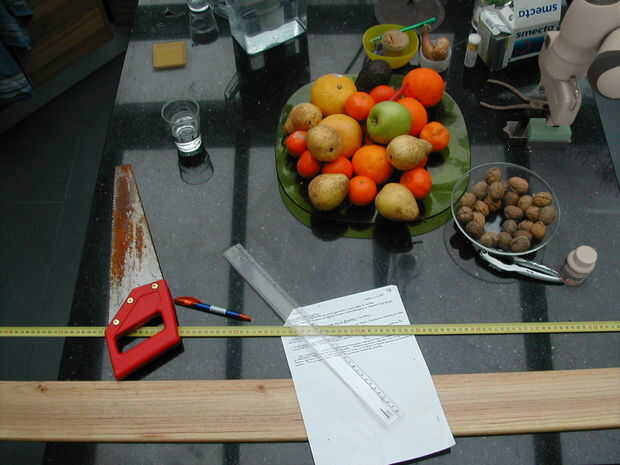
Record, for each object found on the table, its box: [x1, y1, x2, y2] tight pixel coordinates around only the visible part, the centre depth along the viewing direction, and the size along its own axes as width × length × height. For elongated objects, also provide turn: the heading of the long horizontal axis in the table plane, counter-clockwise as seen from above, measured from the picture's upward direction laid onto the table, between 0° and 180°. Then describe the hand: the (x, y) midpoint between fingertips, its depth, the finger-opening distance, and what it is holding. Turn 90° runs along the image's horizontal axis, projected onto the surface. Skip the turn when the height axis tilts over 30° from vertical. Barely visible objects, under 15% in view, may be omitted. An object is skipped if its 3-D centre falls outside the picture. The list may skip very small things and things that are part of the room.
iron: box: [499, 108, 573, 151], centre depth 132 cm, size 15×7×10 cm, turn 88°
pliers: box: [479, 79, 549, 111], centre depth 142 cm, size 10×1×20 cm
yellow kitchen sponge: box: [152, 40, 187, 69], centre depth 151 cm, size 9×9×2 cm
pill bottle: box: [557, 245, 598, 286], centre depth 113 cm, size 5×5×9 cm
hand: (545, 107), depth 127 cm, fingers open, 8 cm apart
